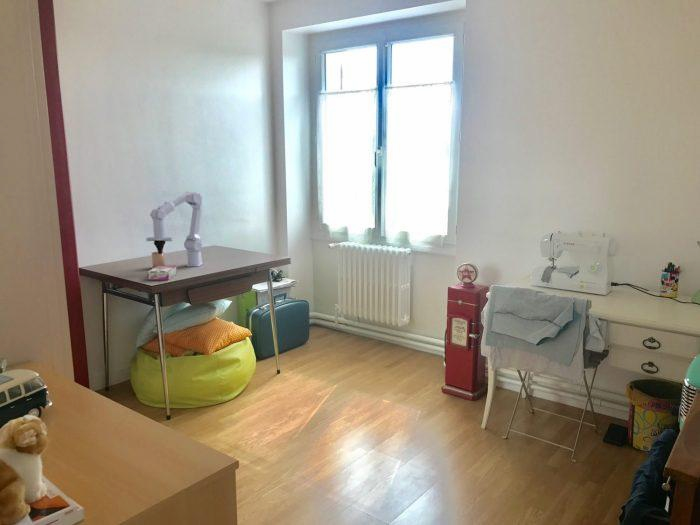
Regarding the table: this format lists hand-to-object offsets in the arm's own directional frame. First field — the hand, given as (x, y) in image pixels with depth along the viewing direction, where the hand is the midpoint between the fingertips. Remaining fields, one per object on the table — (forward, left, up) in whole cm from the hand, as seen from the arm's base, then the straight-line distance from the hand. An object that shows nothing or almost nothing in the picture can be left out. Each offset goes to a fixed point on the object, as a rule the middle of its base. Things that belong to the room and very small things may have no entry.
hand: (160, 253), depth 317 cm
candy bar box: (+4, +5, -8) cm, 10 cm away
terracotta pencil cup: (-12, -6, -11) cm, 17 cm away
